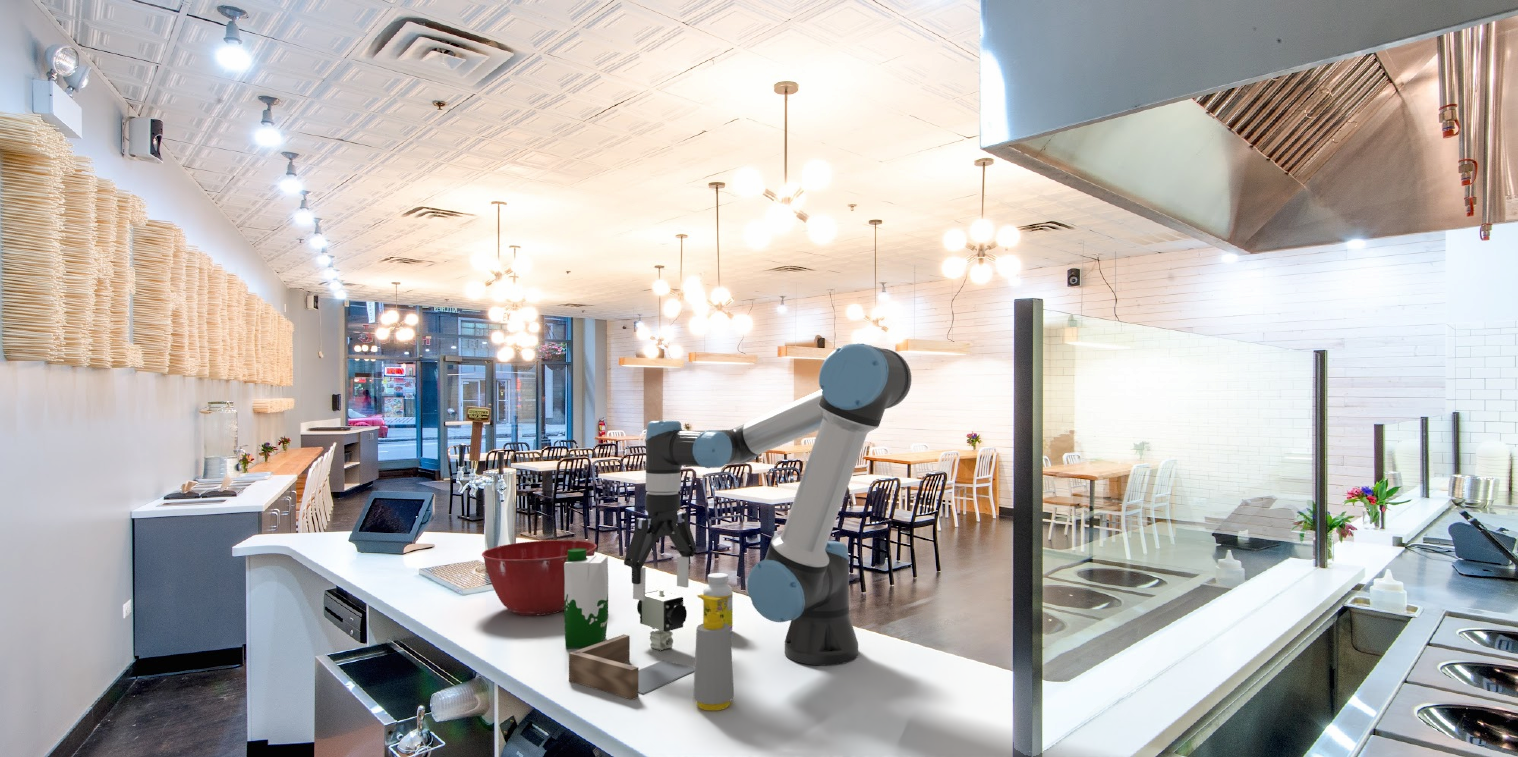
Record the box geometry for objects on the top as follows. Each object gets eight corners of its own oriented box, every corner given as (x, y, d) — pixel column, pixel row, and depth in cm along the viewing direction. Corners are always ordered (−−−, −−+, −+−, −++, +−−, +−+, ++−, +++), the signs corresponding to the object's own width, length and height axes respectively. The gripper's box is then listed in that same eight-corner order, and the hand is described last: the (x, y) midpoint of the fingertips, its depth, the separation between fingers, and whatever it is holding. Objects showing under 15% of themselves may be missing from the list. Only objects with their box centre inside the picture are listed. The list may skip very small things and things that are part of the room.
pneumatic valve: (669, 656, 147) (669, 596, 148) (636, 644, 156) (636, 587, 156) (690, 650, 151) (690, 592, 152) (656, 638, 160) (656, 583, 160)
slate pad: (697, 669, 140) (697, 668, 140) (643, 694, 127) (643, 693, 127) (663, 660, 145) (663, 659, 145) (607, 683, 132) (607, 682, 132)
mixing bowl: (455, 619, 176) (456, 555, 177) (525, 592, 204) (526, 536, 204) (557, 628, 168) (557, 561, 169) (616, 598, 195) (616, 541, 196)
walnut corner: (685, 675, 137) (685, 648, 137) (631, 699, 125) (631, 669, 125) (623, 659, 146) (623, 634, 146) (568, 680, 134) (568, 652, 135)
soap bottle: (712, 693, 128) (711, 590, 129) (742, 702, 123) (741, 596, 124) (684, 705, 122) (684, 597, 123) (714, 715, 118) (714, 604, 119)
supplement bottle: (698, 634, 162) (697, 576, 163) (711, 626, 168) (710, 570, 169) (725, 637, 160) (724, 579, 160) (737, 629, 166) (737, 572, 167)
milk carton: (570, 636, 161) (571, 546, 162) (611, 636, 161) (611, 545, 162) (559, 649, 152) (560, 553, 154) (602, 649, 153) (603, 553, 154)
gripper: (687, 486, 168) (686, 579, 167) (607, 496, 147) (605, 602, 146) (712, 488, 163) (711, 583, 162) (634, 499, 143) (632, 608, 142)
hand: (661, 592), depth 154 cm, fingers open, 13 cm apart
